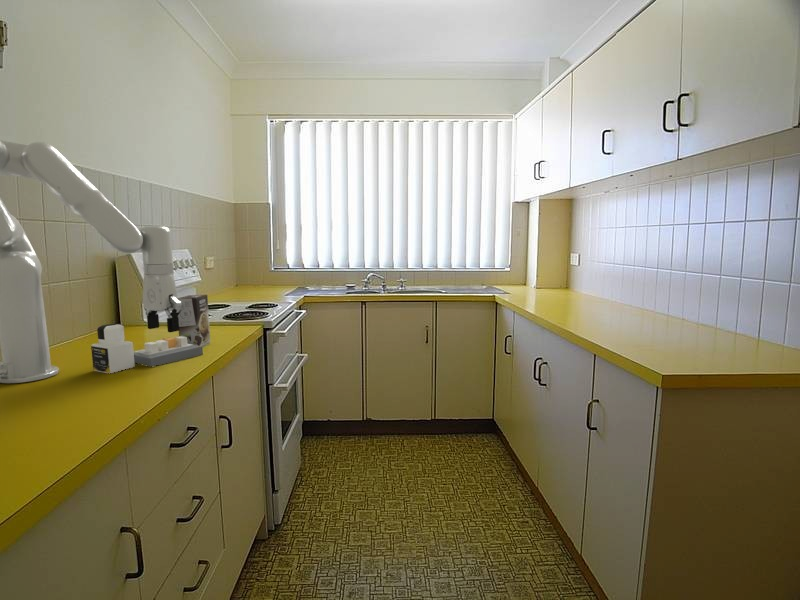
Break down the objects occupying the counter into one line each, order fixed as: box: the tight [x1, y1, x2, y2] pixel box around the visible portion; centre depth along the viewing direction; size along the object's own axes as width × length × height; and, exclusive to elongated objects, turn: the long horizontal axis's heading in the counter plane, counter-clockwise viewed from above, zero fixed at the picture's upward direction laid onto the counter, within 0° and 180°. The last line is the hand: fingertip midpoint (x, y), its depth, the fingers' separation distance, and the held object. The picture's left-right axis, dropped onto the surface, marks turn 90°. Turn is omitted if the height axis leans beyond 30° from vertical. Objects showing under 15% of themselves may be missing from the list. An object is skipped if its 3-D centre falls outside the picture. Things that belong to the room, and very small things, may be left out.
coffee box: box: [177, 294, 211, 348], centre depth 156 cm, size 9×6×16 cm
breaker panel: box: [133, 335, 204, 368], centre depth 142 cm, size 16×12×5 cm
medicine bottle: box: [90, 323, 136, 375], centre depth 130 cm, size 7×7×12 cm
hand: (163, 329), depth 141 cm, fingers open, 9 cm apart
